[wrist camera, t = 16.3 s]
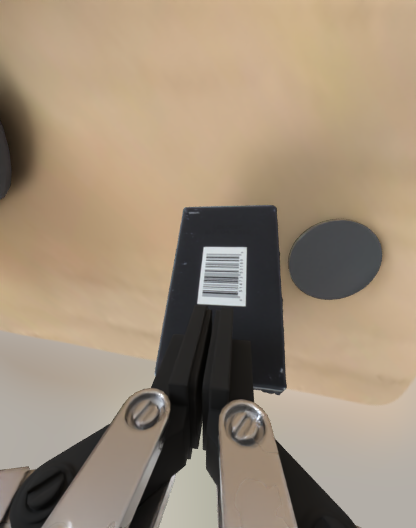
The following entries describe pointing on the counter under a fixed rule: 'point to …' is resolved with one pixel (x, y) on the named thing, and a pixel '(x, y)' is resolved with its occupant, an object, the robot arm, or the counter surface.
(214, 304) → the small box
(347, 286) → the slate coaster
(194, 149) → the counter surface
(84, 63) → the counter surface
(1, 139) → the casserole
